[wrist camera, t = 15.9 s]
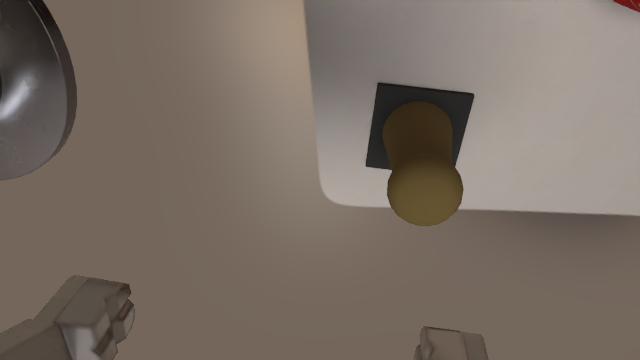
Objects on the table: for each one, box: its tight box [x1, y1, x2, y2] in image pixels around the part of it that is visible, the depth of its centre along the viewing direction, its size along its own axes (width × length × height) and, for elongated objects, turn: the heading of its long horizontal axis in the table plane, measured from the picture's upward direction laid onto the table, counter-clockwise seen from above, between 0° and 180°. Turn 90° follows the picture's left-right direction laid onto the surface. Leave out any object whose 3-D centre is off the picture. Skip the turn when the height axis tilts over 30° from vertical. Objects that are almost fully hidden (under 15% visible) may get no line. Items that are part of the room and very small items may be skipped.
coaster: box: [366, 83, 474, 170], centre depth 39 cm, size 8×8×1 cm
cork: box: [382, 101, 463, 226], centre depth 34 cm, size 6×6×11 cm
